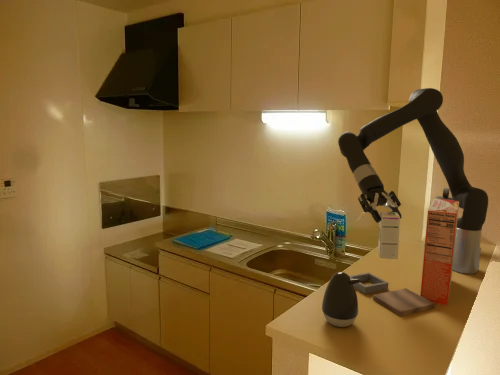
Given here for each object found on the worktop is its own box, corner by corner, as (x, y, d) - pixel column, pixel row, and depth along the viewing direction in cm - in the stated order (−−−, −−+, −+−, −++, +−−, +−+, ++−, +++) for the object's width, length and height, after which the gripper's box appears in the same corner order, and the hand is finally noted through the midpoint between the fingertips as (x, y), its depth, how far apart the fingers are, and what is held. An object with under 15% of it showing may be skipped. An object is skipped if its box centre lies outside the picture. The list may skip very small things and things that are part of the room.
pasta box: (427, 275, 144) (434, 198, 139) (451, 280, 140) (459, 200, 135) (420, 299, 125) (427, 210, 120) (447, 305, 121) (456, 213, 116)
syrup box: (398, 259, 123) (401, 215, 120) (379, 258, 124) (381, 214, 121) (395, 253, 128) (398, 211, 126) (376, 252, 129) (379, 210, 127)
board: (405, 292, 130) (405, 288, 130) (434, 307, 119) (435, 303, 119) (373, 299, 124) (373, 295, 124) (400, 316, 114) (400, 311, 113)
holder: (368, 278, 141) (369, 272, 141) (388, 289, 132) (388, 282, 132) (346, 282, 137) (346, 276, 137) (364, 294, 128) (365, 287, 128)
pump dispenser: (351, 335, 103) (355, 283, 100) (315, 325, 108) (318, 274, 106) (362, 319, 111) (365, 270, 109) (328, 310, 117) (330, 263, 114)
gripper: (356, 175, 127) (377, 216, 118) (390, 172, 132) (413, 212, 124) (345, 188, 133) (366, 228, 124) (378, 185, 138) (400, 223, 129)
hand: (389, 220), depth 124 cm, fingers closed on syrup box, 7 cm apart
